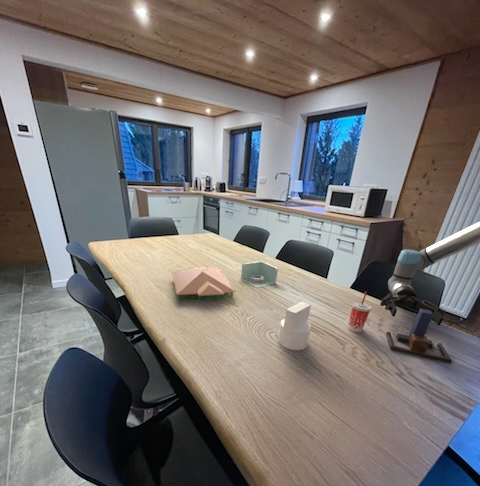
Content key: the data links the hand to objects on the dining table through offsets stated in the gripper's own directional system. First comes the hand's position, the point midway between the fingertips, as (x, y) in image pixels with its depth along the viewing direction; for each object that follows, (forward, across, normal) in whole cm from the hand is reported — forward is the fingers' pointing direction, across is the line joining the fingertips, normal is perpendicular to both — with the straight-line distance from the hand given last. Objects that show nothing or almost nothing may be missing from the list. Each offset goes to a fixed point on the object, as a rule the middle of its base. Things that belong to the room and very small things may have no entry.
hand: (417, 317), depth 88 cm
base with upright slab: (+22, +37, -7) cm, 44 cm away
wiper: (+6, 0, -7) cm, 9 cm away
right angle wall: (-24, +61, -7) cm, 66 cm away
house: (-3, +81, -7) cm, 81 cm away
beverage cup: (+4, +18, -7) cm, 20 cm away
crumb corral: (+8, 0, -7) cm, 10 cm away
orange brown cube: (+9, 0, -7) cm, 11 cm away
